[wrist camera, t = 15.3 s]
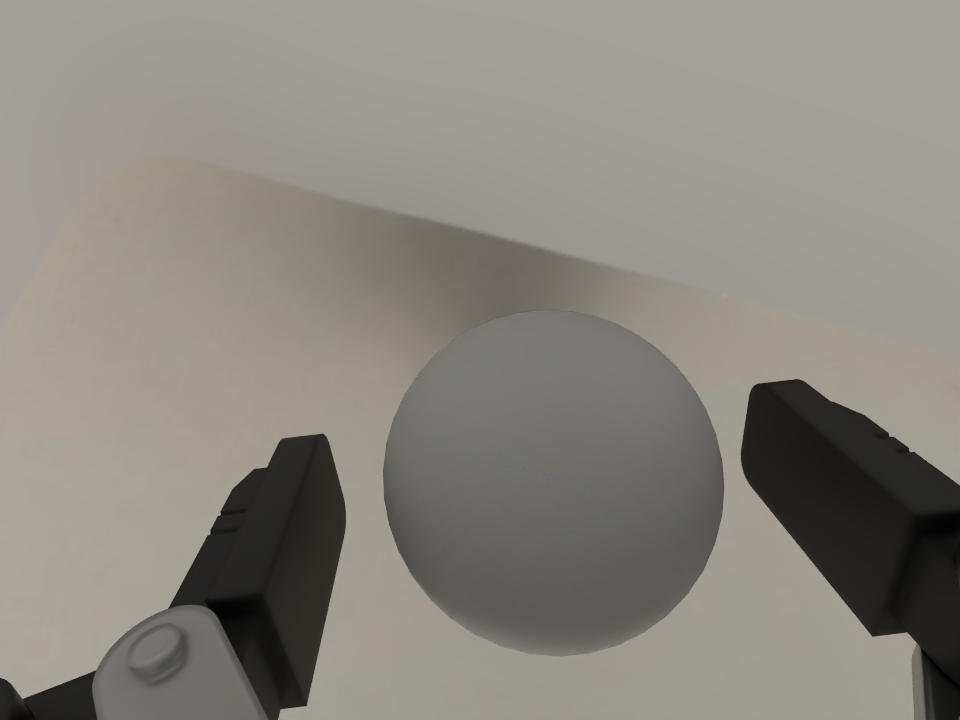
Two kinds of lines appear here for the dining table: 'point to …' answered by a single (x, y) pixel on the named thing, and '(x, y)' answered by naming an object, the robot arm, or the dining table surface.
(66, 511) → the dining table surface
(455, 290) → the dining table surface
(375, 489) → the dining table surface
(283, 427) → the dining table surface
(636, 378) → the light bulb
